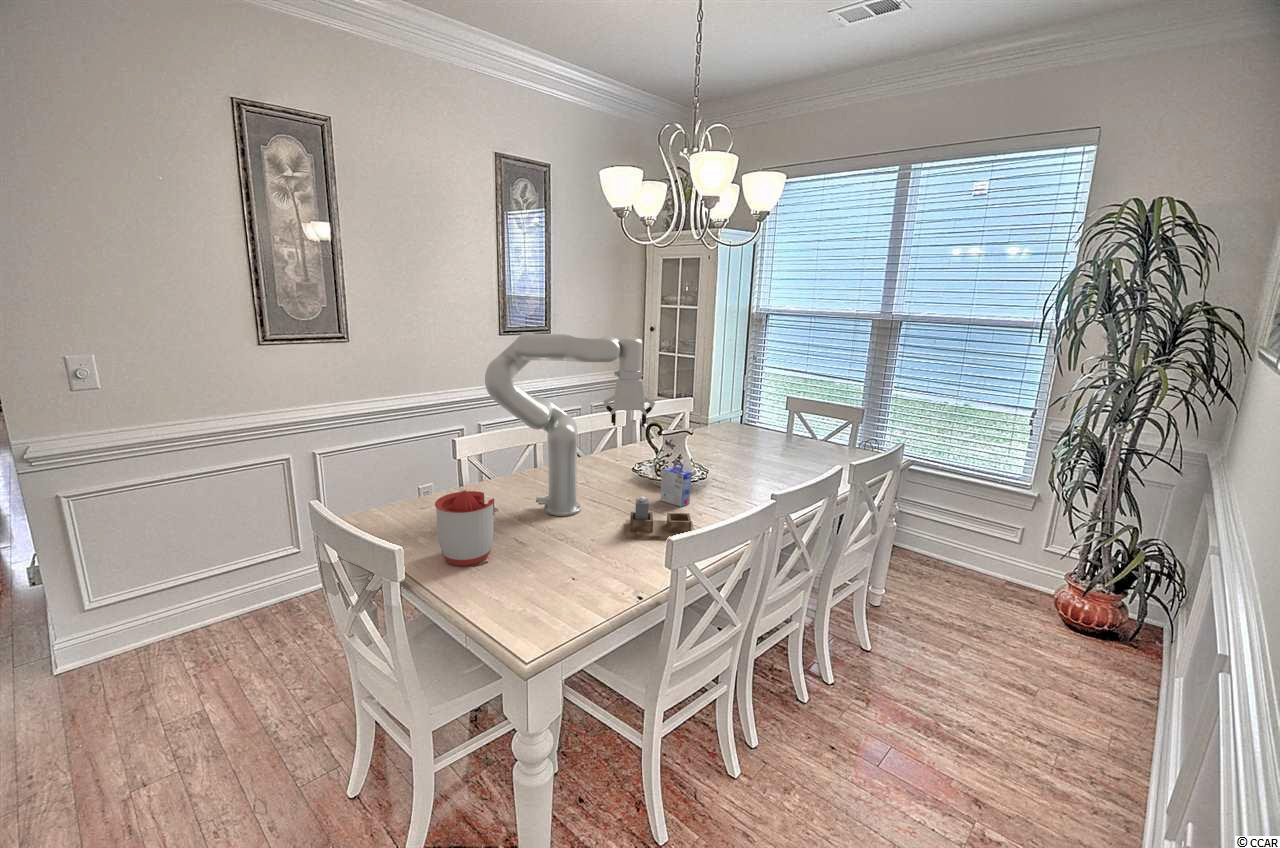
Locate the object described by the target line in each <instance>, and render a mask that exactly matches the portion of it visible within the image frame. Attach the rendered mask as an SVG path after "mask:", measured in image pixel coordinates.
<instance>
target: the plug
mask: <svg viewBox="0 0 1280 848" xmlns="http://www.w3.org/2000/svg"><path fill="white" fill-rule="evenodd" d="M649 502H650V501H649V499H648V498H646V496H639V498H635V511H634V512H635V520H648V512H649V507H650V505H649V504H650V503H649Z"/></svg>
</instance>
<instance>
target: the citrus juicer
mask: <svg viewBox="0 0 1280 848" xmlns="http://www.w3.org/2000/svg"><path fill="white" fill-rule="evenodd" d="M434 505H435V512H436V530H437V532H436V533H437V538H438V539H437V540H438V544H439V546H440V549H441V553H442V556H443V558H444V560H445V562H447V563H448V564H450V565H454V566H459V567H465V566H472V565H476V564H479V563H482V562H483V561H485V560H486V559H487V558H488V556H489V554H490V553H491V552H490V551H491V549H492V545H493V542H494V534H495V533H494V531H495V528H494V527H495V519H494V517H495V513H499V512H500V510H499V509H498V507H495V498H491V499H490V500H488V502H487V503H485V492H482V491H477V490H476V491H473V490H472V491H470V490H462V491H457V492H452V493H448V494H445V495H443V496H441V497H439V498H438V499H437V500H436V501H435V503H434Z"/></svg>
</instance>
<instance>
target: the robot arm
mask: <svg viewBox="0 0 1280 848" xmlns="http://www.w3.org/2000/svg"><path fill="white" fill-rule="evenodd" d="M617 359H618V370H617V371H614V376H617V377H618V378H617V379H616V381H615V386H614V395H612V396H609V397H608V398H606V399H604V400H603V402H602V403H603V405H604V406H605V408H606V409H607V411H608V412H609V413H610V415H611V416H610V421H611V424H612V425H613V427H615V426H616V422H617V419H616V418H617V416H616V415H617V413H616V412H617V411H618V410H619V411H620V410H621V411H622V410H623V411H640V412H641V427H642V428H643V427H645V424H647V415H648V414H649V413H650V412H651V411H652V410H653V408H654V407H655V405H656V401H655V400H653V399H651V398H649V397H647V396H645V393H646V392H645V382H644V380H643V379H642V373H643V372H642V370H643V369H642V367H643V341H642V339H640V338H638V337H623V338H622V337H617V336H616V337H615V336H610V335H607V336H606V335H605V336H602V337H600V338H585V337H584V338H583V337H576V336H574V335H573V336H572V335H570V334H561V333H558V334H557V333H552V334H551V333H549V334H547V333H546V334H545V333H534V332H530V331H529V332H523V333H521V334H520V335H519V336H518V337H517V338H516V339H515V340H514V341H513V342H512V343H510V345H509V346H508V347H507V348H505V349H504V350H503V351H502V352H500V353H499V355H498V356H497V357H495V358H494V359H492V361H490V363H488V365H487V367H486V370H485V375H484V384H485V389H486V392H487V393H488V395H489V396H490V398H491V399H492V400H493V401H494V402H495V403H496V404H498V405H499V406H500V407H502V408H503V409H505V411H507V412H509V413H510V414H511V415H513V416H514V417H515V418H516V419H518V420H519V421H521V423H523V424H525V425H526V426H527V427H528V428H530V429H533V430H543V431H544V432H546V433H547V450H548V457H547V458H548V461H547V462H548V496H545V497H543V496H542V497H541V496H536V497H535V502H536V503H537V504H538V505H544V507H543V510H544V512H545V513H546V514H548V515H551V516H553V517H554V516H555V517H569V516H573V515H575V514H579V512H580V511H581V509H582V506H581V504H580V503H579V502H577V487H578V486H577V480H578V479H577V472H578V471H577V469H578V467H577V464H578V462H577V461H578V457H577V456H578V426H577V423H576V421H575V419H574V418H572V416H571V415H569V414H568V413H566V412H565V411H563V410H562V409H561V408H559V407H558V406H557V405H555V404H554V403H553V402H552V401H550V400H548V399H547V398H544V397H543V396H542V397H541V396H535V397H533V396H531V395H530V394H529V393H527V392H526V391H525V390H524V389H522V388H520V387H519V386H517V385H516V384H515V383H514V382H513V378H514V377H515V376H516V375H517V374H518V373H519V372H520V371H522V370H523V368H525V367H526V366H527V365H528V364H529V363H530V362H531V361H549V362H550V361H555V362H557V361H559V362H561V361H562V362H578V363H579V362H580V363H613V362H614V361H616V360H617ZM610 402H613V407H611V406H610V404H609V403H610ZM645 402H646V403H648V404H649V405H648V407H647V408H645Z"/></svg>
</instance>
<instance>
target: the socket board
mask: <svg viewBox="0 0 1280 848" xmlns="http://www.w3.org/2000/svg"><path fill="white" fill-rule="evenodd" d="M691 519H692V518H691V515H690V513H689V512H667V517H666V520H659V519H658V520H657V519H655V520H654V516H653V512H649V511H648V520H635V511H630V517H629V519H625V540H629V539H630V540H632V539H633V540H662V541H663V540H664V541H665V540H666V539H667V538H668V537H669V536H673V535H676V534H680V533H684V532H688V531H692V530H695V528H694V523H693V521H692V520H691Z"/></svg>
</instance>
